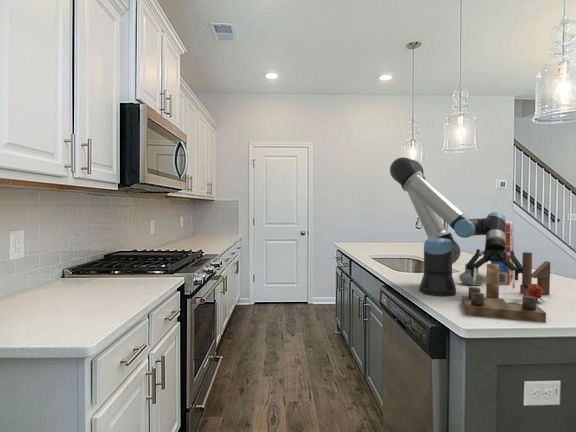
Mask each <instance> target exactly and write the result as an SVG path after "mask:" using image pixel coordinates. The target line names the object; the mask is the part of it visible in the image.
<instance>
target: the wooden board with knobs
mask: <svg viewBox="0 0 576 432" xmlns="http://www.w3.org/2000/svg"><path fill="white" fill-rule="evenodd" d="M462 305H463V306H462ZM461 306H462V308H463V312H464V313H465V316H471V315H472V317H473V316H474V317H483V318H494V319H495V318H497V319H504V320H505V319H506V320H507V319H508V320H516V319H517V320H516V321H519V320H520V321H528V320H530V322H539V321H540V322H541V323H546V322H547V312H546V311H545V310H543V308H541V307H540V306H539V305H538V304H537V302H536V297H532V296H524V295H522V299H521V298H520V299H519V298H508V297H502V298H486V296H485V293H482V292H481V288H480V287H476V286H469V287H468V295H462V296H461ZM540 322H539V323H540Z"/></svg>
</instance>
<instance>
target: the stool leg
mask: <svg viewBox="0 0 576 432" xmlns="http://www.w3.org/2000/svg"><path fill="white" fill-rule="evenodd" d="M485 277H486V283H485V285H486V287H485V290H486V291H485V294H486V295H485V297H486V298H499V297H500V296H499V295H500V293H499V292H500V284H499V265H498V264H491V263H487V264H486V276H485Z"/></svg>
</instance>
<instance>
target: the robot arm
mask: <svg viewBox="0 0 576 432" xmlns="http://www.w3.org/2000/svg"><path fill="white" fill-rule="evenodd" d="M389 173H390V176H391V178H392V179H393V180H394V181H395V182H397V183H398V184H400V186H401V188H402V191H404V192H406V193H407V194H408V196H409V199H410V200H411V203H412V205H413V208H414V210H415V211H416V215H417V216H418V218H419V221H420V223H421V225H422V227H423V230H424V231H425V233H426V237H427V239H426V240H425V241H424V243H423V275H422V278H421V281H420V283H419V287H418V288H419V290H420V291H421V292H423V293H422V294H424V293H427V294H426V295H429V294H433V295H432V296H437V295H441V296H440V297H449V296H455V295H457V287H456V284H455V280H454V278H453V264H455V263H456V262H457V261H458V259H459V258H460V255H461V247H460V245H459V244H458V242H456V240H455V239H454V237H453V234H452V233H451V232H450V231H448V230H446V228H445V226H444V224H443V222H445V223H446V224H447V225H449V227H450V228H451V229H453V231H454V233H455V234H456V236H458V237H460V238H462V239H463V238H464V239H465V238H466V239H469V238H470V237H473V236H485V243H484V245H485V246H484V250H480V249H479V248H477V249H476V251H475V254H474V255H473V256H472V257H471V258H470V260H469V261H468V262H467V269H468V270H469V269H470V270H471V277H473V285H476V272H477V271H476V269H477V268H478V269H479V268H480V267H481V266H483V265H485V264H486V263H487V264H488V263H489V262H490V263H491V262H494V261H495V262H499V261H501V262H502V263H503V264H505V265H506V266H507V267H508V268H509V269H510V270H511V271H512V272H513V279H512V287H511V288H512V289H515V288H516V281H518V280H519V274H522V273H523V271H524V268H523V267H522V263H521V262H520V260H518V258H517V257H516V255H515V252H514V250H513V251H511V252H506V251H505V239H506V222H507V219H506V216H505V215H504V214H503V213H502V212H500V211H499V212H498V211H493V212H491V213H488V215H486V217H484V218H483V217H482V218H469V217H468V216H466V214H464V213H463V212H462V211H461V210H459V208H458V207H456V206H455V205H454V204H453V203H452V202H450V201H449V200H448V199H447V198H446V197H445V196H444V195H443V194H441V193H440V192H439V191H438V190H437V189H436V188H435V187H433V185H431V184H430V183H429V182H428V181H427V179H426V176H425V174H424V168H423V166H422V165H421V164H420V162H418V160H415V159H411V158H408V157H404V156H403V157H398V158H396V159H394V160H393V161H392V162H391V165H390V167H389ZM442 220H443V222H442ZM482 256H483V257H482ZM506 256H508V257H509V258H511V260H512V262H513V264H512V263H511V262H510V261H509V260H507V259H506ZM480 257H481V258H480ZM479 258H480V259H479ZM420 291H419V292H420ZM421 292H420V293H421Z"/></svg>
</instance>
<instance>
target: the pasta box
mask: <svg viewBox="0 0 576 432" xmlns="http://www.w3.org/2000/svg"><path fill="white" fill-rule="evenodd" d="M514 234H515V222H514V221H506V239H505V251H506V252H511V251H514V242H515V240H514V238H515V235H514ZM506 259H507V260H509V261H510V262H511V263H512V264H513V265H514V263H513V262H512V260H511V258H509V257H508V256H506ZM490 264H498V265H499V285H506V286H509V285H511V283H512V282H513V272H512V271H511V270H510V269H509V268H508V267H507V266H506V265H505V264H503V263H502V262H501V261H499V262H495V261H494V262H490Z"/></svg>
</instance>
